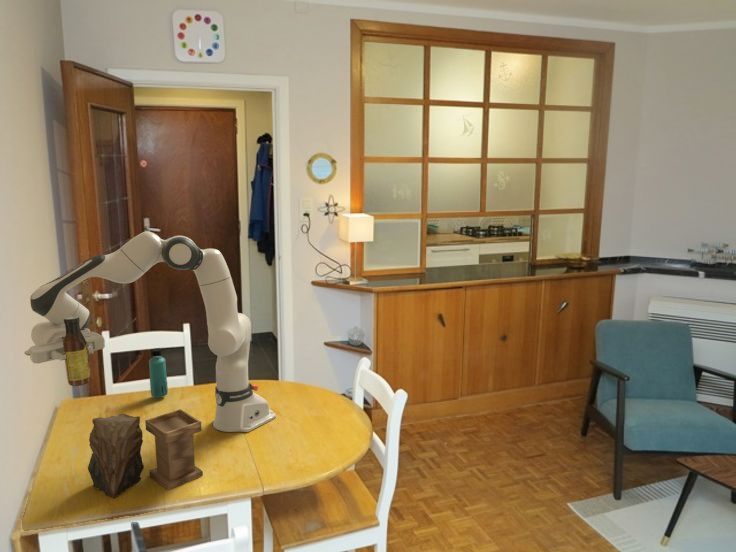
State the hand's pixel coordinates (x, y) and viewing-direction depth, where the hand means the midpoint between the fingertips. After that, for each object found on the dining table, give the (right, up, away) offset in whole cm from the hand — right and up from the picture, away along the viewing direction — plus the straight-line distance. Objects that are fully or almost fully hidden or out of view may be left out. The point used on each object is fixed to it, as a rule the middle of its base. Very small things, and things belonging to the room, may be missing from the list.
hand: (77, 354), depth 171 cm
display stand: (+26, -37, +7) cm, 46 cm away
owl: (+11, -38, +1) cm, 40 cm away
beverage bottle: (+2, -26, +63) cm, 68 cm away
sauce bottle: (-1, -9, +2) cm, 9 cm away
